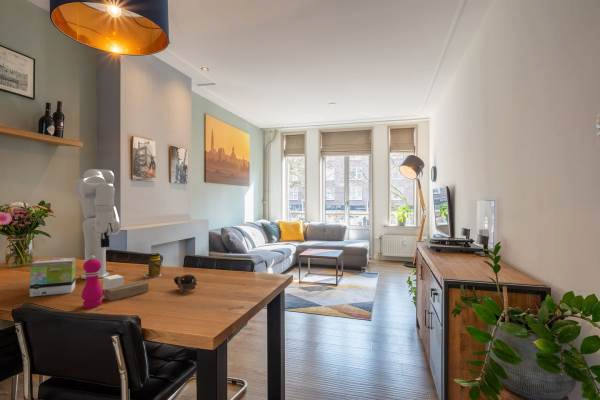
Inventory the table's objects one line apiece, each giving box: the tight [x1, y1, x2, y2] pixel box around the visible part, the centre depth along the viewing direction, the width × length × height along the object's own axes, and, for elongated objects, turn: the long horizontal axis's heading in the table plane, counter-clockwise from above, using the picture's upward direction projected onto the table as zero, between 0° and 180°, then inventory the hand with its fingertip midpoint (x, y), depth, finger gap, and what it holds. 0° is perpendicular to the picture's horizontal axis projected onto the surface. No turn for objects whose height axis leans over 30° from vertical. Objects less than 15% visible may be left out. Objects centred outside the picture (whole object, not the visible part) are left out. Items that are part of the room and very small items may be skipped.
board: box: [103, 280, 149, 302], centre depth 139 cm, size 6×16×4 cm, turn 144°
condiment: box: [143, 252, 163, 278], centre depth 173 cm, size 7×8×12 cm
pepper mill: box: [81, 255, 104, 309], centre depth 125 cm, size 7×7×20 cm
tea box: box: [29, 257, 77, 298], centre depth 142 cm, size 15×10×15 cm
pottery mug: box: [173, 273, 198, 294], centre depth 147 cm, size 12×10×8 cm
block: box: [102, 274, 125, 291], centre depth 147 cm, size 7×6×6 cm
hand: (105, 246), depth 152 cm, fingers closed
